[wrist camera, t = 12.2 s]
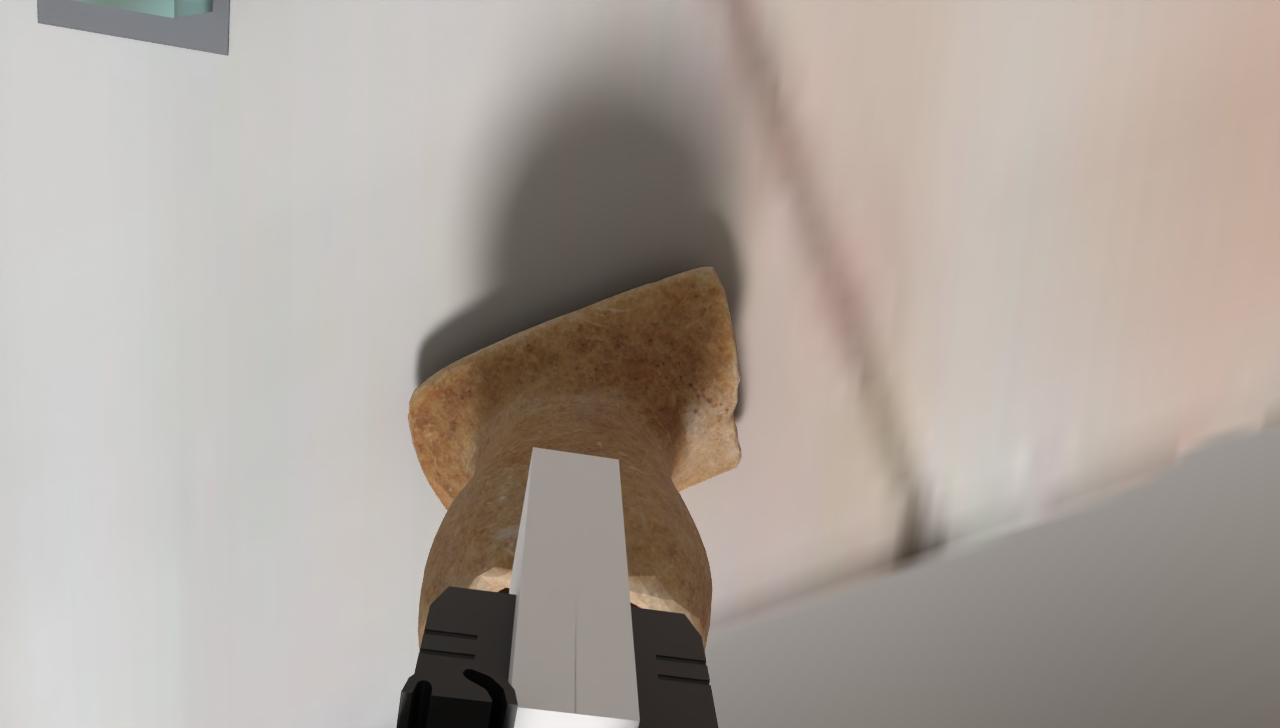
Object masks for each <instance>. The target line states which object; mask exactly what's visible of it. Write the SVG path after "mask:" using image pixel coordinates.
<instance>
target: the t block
mask: <svg viewBox="0 0 1280 728" xmlns="http://www.w3.org/2000/svg"><path fill="white" fill-rule="evenodd" d="M73 1H78V2H84V3H90V4H96V5H101V6H107V7H113V8H119V9H124V10H130V11H136V12H141V13H147V14H153V15H159V16H164V17H170V18H178V17H184V16H190V15H196V14H202V13H208V12H213V0H73Z"/></svg>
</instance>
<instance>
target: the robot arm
mask: <svg viewBox="0 0 1280 728" xmlns="http://www.w3.org/2000/svg"><path fill="white" fill-rule="evenodd" d="M709 681H710V679H709V674H708V669H707V666H706V658H705V652H704V646H703V641H702V636H701V635H700V634H699V632H698V631H697V630H696V628H695V627H694V626H693V624H692V623H691V622H690V620H689V619H688V618H687V616H686V615H685V614H683V613H675V612H667V611H659V610H651V609H643V608H636V607H631V605H630V592H629V580H628V568H627V555H626V543H625V531H624V518H623V506H622V493H621V481H620V469H619V460H618V459H611V458H605V457H598V456H591V455H584V454H577V453H570V452H563V451H556V450H549V449H542V448H536V447H533V451H532V457H531V463H530V468H529V474H528V480H527V486H526V492H525V498H524V504H523V510H522V516H521V522H520V527H519V533H518V539H517V545H516V551H515V557H514V563H513V569H512V575H511V581H510V590H509V594H507V593H499V592H491V591H483V590H475V589H468V588H460V587H452V586H449V587H448V588H447V589H446V590H445V591H444V592H443V593H442V594H441V595H440V596H439V597H438V598H437V599H436V600H435V601H434V602H433V603H432V604H431V605H430V607H429V612H428V616H427V620H426V625H425V629H424V634H423V638H422V642H421V647H420V652H419V656H418V660H417V665H416V669H415V673H414V675H412V676H411V677H409V679H408V681H407V682H406V684H405V686H404V688H403V690H402V691H401V697H400V705H399V713H398V720H397V728H718V724H717V718H716V713H715V707H714V702H713V696H712V690H711V686H710V685H709Z"/></svg>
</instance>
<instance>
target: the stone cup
mask: <svg viewBox="0 0 1280 728" xmlns="http://www.w3.org/2000/svg"><path fill="white" fill-rule="evenodd" d="M739 382H740V368H739V362H738V356H737V350H736V342H735V333H734V328H733V324H732V320H731V315H730V311H729V306H728V302H727V297H726V292H725V288H724V287H723V285H722V283H721V281H720V280H719V277H718V275H717V273H716V272H715V270H714V268H713V267H699V268H695V269H692V270H688V271H685V272H681V273H679V274H676V275H673V276H670V277H667V278H664V279H662V280H660V281H657V282H653V283H648V284H644V285H642V286H639V287H636V288H633V289H631V290H628V291H625V292H622V293H620V294H617V295H614V296H612V297H609V298H606V299H604V300H602V301H599V302H597V303H594V304H592V305H589V306H587V307H584V308H582V309H579V310H576V311H573V312H570V313H567V314H565V315H562V316H559V317H557V318H554V319H551V320H549V321H546V322H544V323H541V324H538V325H536V326H533V327H531V328H528V329H526V330H523V331H521V332H518V333H516V334H514V335H511V336H509V337H507V338H505V339H503V340H501V341H498V342H496V343H494V344H492V345H489V346H487V347H485V348H482V349H480V350H478V351H476V352H474V353H472V354H470V355H468V356H465V357H463V358H461V359H459V360H457V361H455V362H453V363H451V364H450V365H448V366H446V367H444V368H442V369H441V370H439V371H438V372H437V373H435V374H434V375H432V376H431V377H429V378H428V379H427V380H426V381H424V382H423V383H422V384H421V385H420V386H419V387H418V388H416V389H415V391H414V392H413V394H412V397H411V399H410V403H409V414H408V420H409V426H410V431H411V436H412V441H413V445H414V448H415V451H416V454H417V457H418V460H419V462H420V465H421V467H422V470H423V473H424V474H425V476H426V478H427V480H428V482H429V484H430V486H431V487H432V489H433V490H434V492H435V493H436V495H437V496H438V498H439V499H440V501H441V502H442V504H443V505H444V506H445V508H446V509H447V510H448V511H447V513H446V515H445V517H444V519H443V521H442V523H441V525H440V528H439V530H438V532H437V534H436V536H435V539H434V541H433V544H432V547H431V549H430V553H429V556H428V560H427V563H426V566H425V571H424V578H423V583H422V589H421V596H420V605H419V621H418V636H419V648H420V647H421V642H422V638H423V634H424V629H425V625H426V620H427V616H428V612H429V607H430V605H431V604H432V603H433V602H434V601H435V600H436V599H437V598H438V597H439V596H440V595H441V594H442V593H443V592H444V591H445V590H446V589H447V588H448V587H449V586H452V587H460V588H468V589H475V590H483V591H491V592H499V593H507V594H509V590H510V581H511V575H512V569H513V563H514V557H515V551H516V545H517V539H518V533H519V527H520V522H521V516H522V510H523V504H524V498H525V492H526V486H527V480H528V474H529V468H530V463H531V457H532V451H533V447H536V448H542V449H549V450H556V451H563V452H570V453H577V454H584V455H591V456H598V457H605V458H611V459H618V460H619V469H620V481H621V493H622V506H623V518H624V531H625V543H626V555H627V568H628V580H629V592H630V605H631V607H636V608H643V609H651V610H659V611H667V612H675V613H683V614H685V615H686V616H687V618H688V619H689V620H690V622H691V623H692V624H693V626H694V627H695V628H696V630H697V631H698V632H699V634H700V635H701V636H702V641H703V646H704V652H705V647H706V642H707V636H708V631H709V626H710V614H711V600H712V579H711V573H710V567H709V562H708V558H707V554H706V551H705V548H704V545H703V542H702V540H701V537H700V535H699V532H698V530H697V528H696V525H695V523H694V521H693V519H692V517H691V515H690V513H689V511H688V509H687V507H686V505H685V503H684V501H683V499H682V497H681V495H680V494H679V491H681V490H684V489H686V488H688V487H690V486H693V485H695V484H698V483H700V482H702V481H705V480H707V479H709V478H712V477H714V476H716V475H718V474H721V473H724V472H727V471H729V470H732V469H735V468H737V466H738V464H739V462H740V459H741V448H740V445H739V441H738V432H737V427H736V424H735V420H734V414H733V412H734V409H735V407H736V405H737V402H738V385H739Z"/></svg>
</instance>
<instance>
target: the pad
mask: <svg viewBox="0 0 1280 728" xmlns="http://www.w3.org/2000/svg"><path fill="white" fill-rule="evenodd" d="M37 9H38V23H41V24H47V25H53V26H59V27H65V28H70V29H76V30H82V31H88V32H94V33H100V34H106V35H111V36H117V37H123V38H129V39H135V40H141V41H146V42H152V43H158V44H164V45H170V46H176V47H181V48H187V49H193V50H199V51H205V52H211V53H216V54H222V55H228V49H229V15H230V0H213V12H208V13H202V14H196V15H190V16H184V17H178V18H170V17H164V16H159V15H153V14H147V13H141V12H136V11H130V10H124V9H119V8H113V7H107V6H101V5H96V4H90V3H84V2H78V1H73V0H37Z"/></svg>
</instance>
